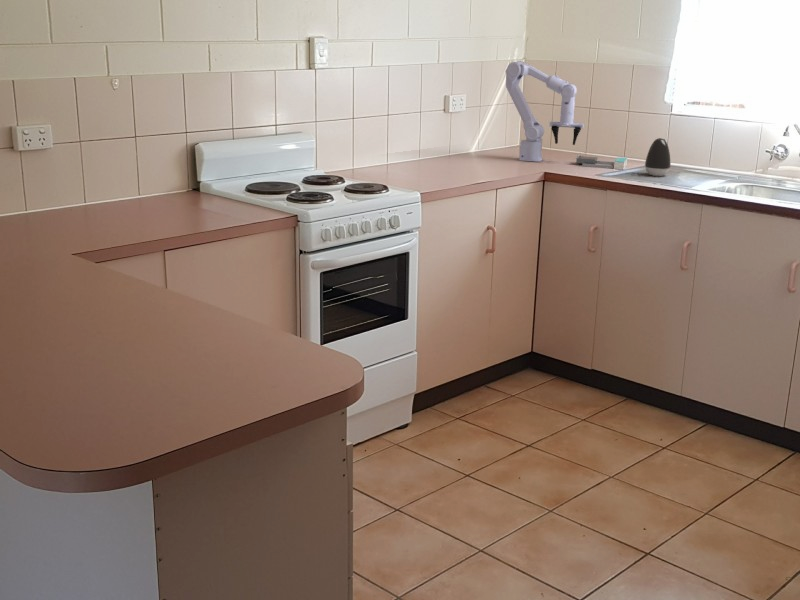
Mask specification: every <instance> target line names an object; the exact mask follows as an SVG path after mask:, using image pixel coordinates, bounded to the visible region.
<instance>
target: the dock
mask: <svg viewBox="0 0 800 600" xmlns="http://www.w3.org/2000/svg"><path fill="white" fill-rule="evenodd" d="M627 163H628V157H617V158H616V159H615V160H614V161H607V160H606V161H605V160H597V162H596V164H585V163H581V165H582V167H584V168H585V167H586V168H587V167H588V168H598V169H599V168H600V169H611V170H612V169H613V170H624V169H625V168H626V167H627Z"/></svg>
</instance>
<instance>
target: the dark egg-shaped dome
mask: <svg viewBox="0 0 800 600" xmlns="http://www.w3.org/2000/svg"><path fill="white" fill-rule="evenodd" d="M671 163H672V162H671V153H670V148H669V145H668V142H667V141H666V139H665V138H662V137H661V138H660V137H659V138H658V137H657V138H655V140H654V141H653V142H652V143H651V145H650V147H649V150H648V151H647V154H646V158H645V163H644V167H645V171H646V172H647V174H648V175H650V176H653V177H664V176H665V175H667V174H668V172H669V170H670V168H671V165H672V164H671Z"/></svg>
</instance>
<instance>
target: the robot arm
mask: <svg viewBox="0 0 800 600" xmlns="http://www.w3.org/2000/svg"><path fill="white" fill-rule="evenodd" d="M523 76H531V77H532V78H535V79H537V80H538V81H541V82H542V83H545V85H546V88H549V89H550V90H552V91H554V92H555V93H557V94H560V95H561V105H560V106H561V107H560V118H559V119H560V120H559V121H550V122H549V127H551V128H550V129H551V131H552V134H553V137H554V143H555V144H556V145H557V144H558V142H559V129H560V128H570V129H571V128H573V139H572V146H575V145H576V142H577V139H578V137H579V134H580V132H581V130H583V129H584V127H585V126H584V125H585V124H584V123H582V122H581V123H580V122H579V123H578V122H574V118H575V105H576V104H575V103H576V95H577V93H578V88H577V86H576V85H575V84H574V83H570V82H569V81H567V80H564V79H561V78H560V76H559V75H557V74H556V75H554V74H553V75H548V74H546V73H544V71H542V70H539V68H537V67H534V66H533V65H531V64H529V63H526V62H524V61H522V60H518V61H512V62H510V63H509V64H508V65H507V68H506V69H505V87H506V89H507V92H508V94H509V96H510V97H511V100H512V103H513V104H514V106H515V108H516V110H517V112H518V114H519V116H520V118H521V120H522V123H523V125H522V126H523V127H522V128H523V129H524V135H525V136H524V137H525V139H521V141H520V144H519V159H518V161H520V162H521V161H523V162H537V163H541V162H542V161H543V160H544V158H542V150H543V138H542V137H543V136H544V133H545V129H544V126H543V125H541V124H540V122H539V121H538V119H536V117H535V116H534V114H533V112H532V110H531V107H530V106H529V104H528V102H527V99H526V97H525V95H524V93H523V92H522V90H521V88H520V85H519V84H520V83H521V79H522V78H523Z"/></svg>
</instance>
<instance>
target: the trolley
mask: <svg viewBox="0 0 800 600" xmlns="http://www.w3.org/2000/svg"><path fill="white" fill-rule="evenodd" d="M576 157H577V158H576V160H575V161H576V162H575V163H576V165H577V166H580V165H581V164H583V163H585V164H596V162H597V161H598V157H596V156H587V155H586V156H583V155H582V154H581V152H578V153H577V156H576Z"/></svg>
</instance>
